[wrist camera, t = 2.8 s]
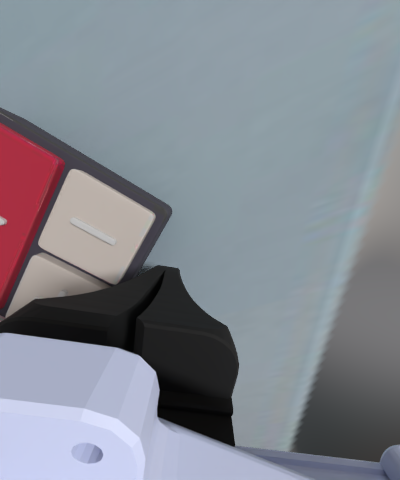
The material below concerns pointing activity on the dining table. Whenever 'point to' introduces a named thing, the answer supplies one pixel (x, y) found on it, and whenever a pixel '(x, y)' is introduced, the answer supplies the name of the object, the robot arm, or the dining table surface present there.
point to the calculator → (66, 219)
